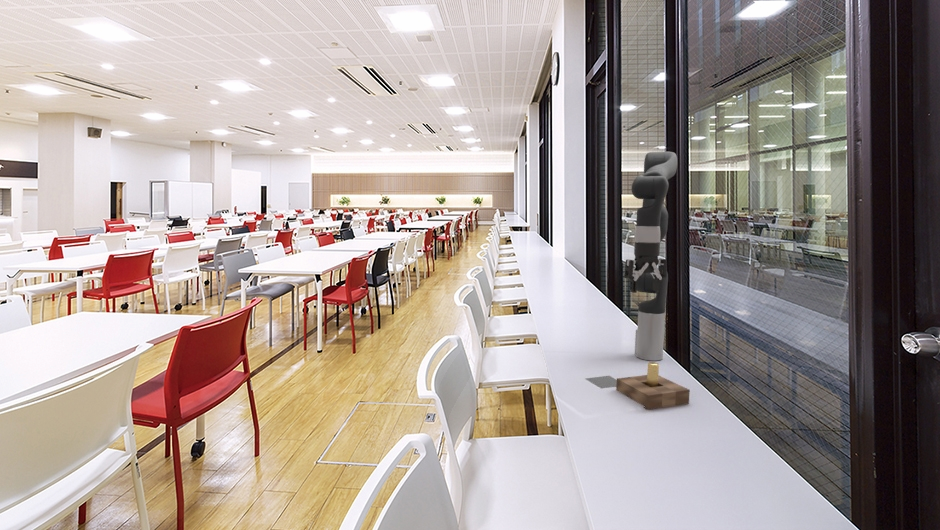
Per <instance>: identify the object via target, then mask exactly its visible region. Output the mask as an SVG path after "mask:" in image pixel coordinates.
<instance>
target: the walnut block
mask: <svg viewBox="0 0 940 530" xmlns="http://www.w3.org/2000/svg"><path fill="white" fill-rule="evenodd" d="M616 380H617V384H616V388H615V390H616V391H617V392H618V393H620V394H622V395H624V396H626V397H628V398H629V399H631V400H633V401H635V402H637V404H640V405H641V406H643V409H645V410H648V411H649V410H654V409H655V410H656V409H661V408H668V407H675V406H682V405H687V404H689V403H690V389H688V388H687V387H685V386H682V385H680V384H678V383H677V382H674V381H672V380H670V379H667V378H666V377H663V376H661V375H659V374H658V387H649V386H647V374H642V375H636V376H635V375H634V376H627V377H617V378H616Z"/></svg>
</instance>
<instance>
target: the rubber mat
mask: <svg viewBox="0 0 940 530" xmlns="http://www.w3.org/2000/svg"><path fill="white" fill-rule="evenodd" d="M584 379H585V380H586V381H588V382H590V383H591V384H593V385H595V386H596V387H599V388H600V389H607V388H615V387H616V384H617V378H614V377H612V376H611V375H602V376H594V377H587V378H584Z"/></svg>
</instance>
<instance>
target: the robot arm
mask: <svg viewBox="0 0 940 530" xmlns="http://www.w3.org/2000/svg"><path fill="white" fill-rule="evenodd" d="M643 162H644V163H643V173H642V174H639V175H638V176H636V177H635V178H634V179H633V181H632V182H631V183H632V184H631V193H632V195H633V197H634V198H636V199H637V200H642V206H641V207H639V208H638V209H637V211H636V221H635V224H636V225H635V232H634V248H633V250H634V251H633V254H634V260H633V259H626V260H625V262H624V263H625V265H624V274H623V276H624V277H623V278H625V279H628V280H629V291H630V292H631V293H633V294H637V293H638V292H639V293H645V294H655V297H654V298H652V299H649V300H646V301H640V303H638V307H637V308H638V311H637V312H638V314H637V329H636V330H635V338H634V339H635V340H634V341H635V342H634V355H635V356H636V357H637V358H638V359H641V360H645V361H650V362H654V361H656V362H657V361H662V360H663V355H664V342H665V341H664V340H665V339H664V338H665V321H666V320H665V318H666V307H667V306H666V305H667V295H668V294H667V293H668V283H669V273H668V270H667V266H668V265H667V264H668V262H667V261H668V260H667V259H666V258H662V257H661V258H660V257H659V256H660V252H661V251H660V250H661V242H662V241H663V239H664V238H665V236H666V235H667V232H668V225H669V213H668V210H667V208H666V205H664V202H665V200H666V199H665V198H666V196H667V194H668V191H669V187H670V186H669V184H670V183H669V180H670V179H671V178H672V177H674V176H675V175H676V173H677V168H678V156H677V154H676V153H675V152H673V151H651V152H650V151H649V152H647V153H646V154H645V156H644V161H643Z"/></svg>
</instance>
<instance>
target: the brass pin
mask: <svg viewBox="0 0 940 530" xmlns="http://www.w3.org/2000/svg"><path fill="white" fill-rule="evenodd" d="M659 369H660V364H659V363H658V362H654V361H649V362H647V371H646V373H647V374H646V375H647V386H649V387H658V375H659V371H660V370H659Z"/></svg>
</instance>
